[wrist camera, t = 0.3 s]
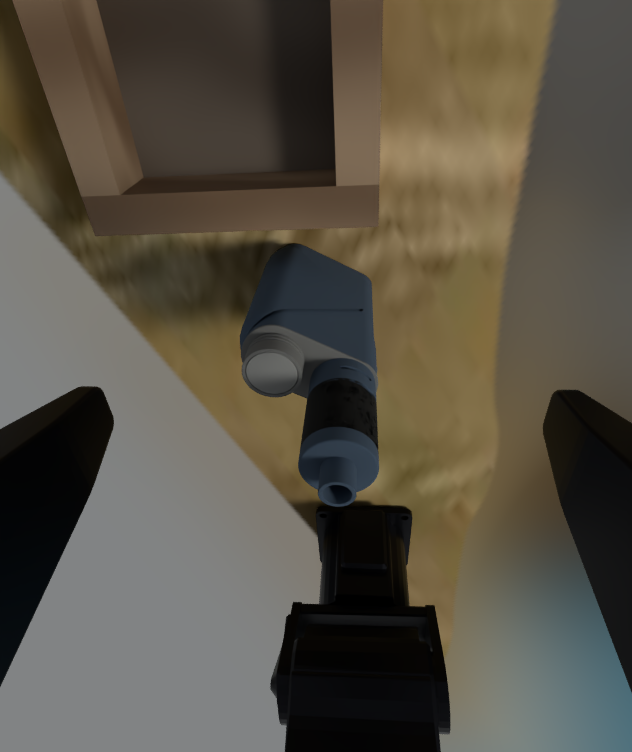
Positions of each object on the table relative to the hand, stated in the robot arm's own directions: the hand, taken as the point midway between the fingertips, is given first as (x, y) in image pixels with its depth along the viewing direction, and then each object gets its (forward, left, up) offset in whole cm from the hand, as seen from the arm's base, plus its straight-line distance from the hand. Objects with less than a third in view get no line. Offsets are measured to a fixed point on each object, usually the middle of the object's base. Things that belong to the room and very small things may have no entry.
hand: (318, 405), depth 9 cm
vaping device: (-4, +1, -13) cm, 14 cm away
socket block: (+5, +4, -13) cm, 15 cm away
